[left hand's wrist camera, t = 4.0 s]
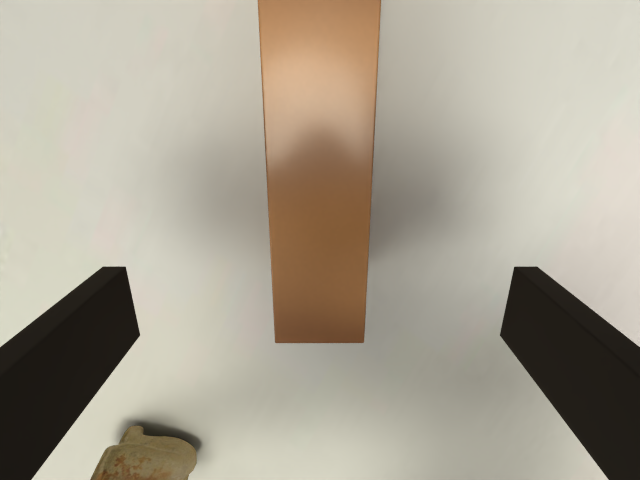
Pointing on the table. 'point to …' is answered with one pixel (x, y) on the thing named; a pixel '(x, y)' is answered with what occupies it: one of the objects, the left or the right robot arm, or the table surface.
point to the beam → (319, 162)
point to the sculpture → (146, 458)
